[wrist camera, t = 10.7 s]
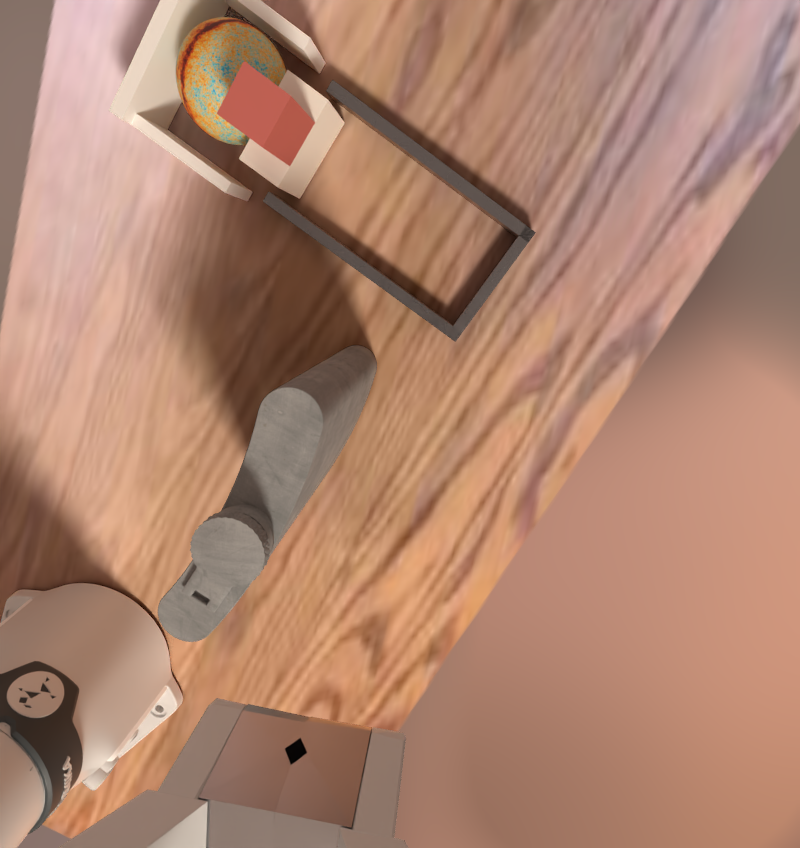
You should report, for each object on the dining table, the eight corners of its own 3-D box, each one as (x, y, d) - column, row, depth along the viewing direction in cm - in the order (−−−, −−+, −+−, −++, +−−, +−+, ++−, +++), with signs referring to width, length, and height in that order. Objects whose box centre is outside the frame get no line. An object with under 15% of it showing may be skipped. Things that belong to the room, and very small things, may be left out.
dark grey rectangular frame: (455, 339, 41) (455, 341, 40) (269, 204, 40) (262, 201, 39) (532, 234, 39) (535, 232, 37) (337, 87, 38) (332, 79, 36)
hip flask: (348, 337, 42) (256, 384, 23) (394, 364, 42) (340, 432, 23) (261, 499, 46) (121, 653, 27) (302, 523, 47) (192, 693, 27)
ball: (322, 107, 38) (292, 69, 32) (251, 177, 40) (209, 155, 33) (255, 21, 37) (210, -37, 31) (186, 96, 39) (129, 57, 32)
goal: (247, 201, 40) (218, 190, 36) (151, 131, 40) (108, 110, 35) (325, 62, 38) (306, 30, 33) (223, -15, 37) (187, -59, 32)
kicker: (299, 199, 40) (248, 172, 30) (265, 173, 39) (203, 139, 30) (344, 123, 38) (306, 69, 28) (309, 96, 38) (258, 33, 28)
